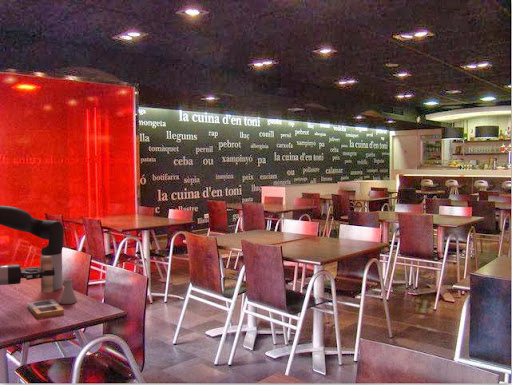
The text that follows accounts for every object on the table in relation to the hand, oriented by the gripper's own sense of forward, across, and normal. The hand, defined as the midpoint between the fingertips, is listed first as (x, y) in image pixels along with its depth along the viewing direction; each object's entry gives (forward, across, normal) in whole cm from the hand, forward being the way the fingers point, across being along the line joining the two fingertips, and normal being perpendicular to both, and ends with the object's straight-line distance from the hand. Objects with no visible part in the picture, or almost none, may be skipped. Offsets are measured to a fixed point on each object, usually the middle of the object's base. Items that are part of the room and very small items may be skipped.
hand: (54, 271), depth 202 cm
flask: (+6, +14, +17) cm, 23 cm away
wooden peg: (-3, 0, +8) cm, 8 cm away
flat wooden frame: (-3, +5, +17) cm, 18 cm away
